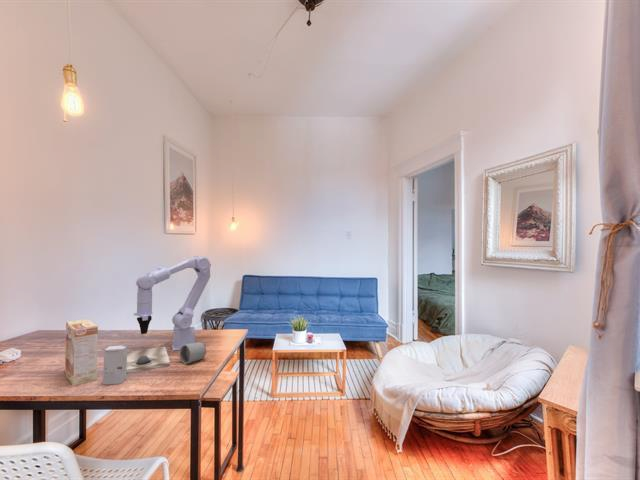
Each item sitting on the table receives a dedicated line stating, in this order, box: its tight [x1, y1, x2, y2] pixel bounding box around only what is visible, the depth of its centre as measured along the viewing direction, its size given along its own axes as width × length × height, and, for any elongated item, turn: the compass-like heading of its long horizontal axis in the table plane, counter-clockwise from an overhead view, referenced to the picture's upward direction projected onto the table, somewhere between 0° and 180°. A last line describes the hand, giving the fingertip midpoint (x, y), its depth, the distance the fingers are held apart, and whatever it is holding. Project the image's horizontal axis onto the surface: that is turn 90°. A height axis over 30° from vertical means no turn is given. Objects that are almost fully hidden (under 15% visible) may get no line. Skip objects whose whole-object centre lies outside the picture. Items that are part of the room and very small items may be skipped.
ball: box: [137, 356, 149, 365], centre depth 121 cm, size 4×4×4 cm
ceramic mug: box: [179, 341, 207, 365], centre depth 128 cm, size 11×8×8 cm
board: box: [126, 346, 171, 375], centre depth 126 cm, size 18×22×2 cm
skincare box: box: [102, 345, 129, 386], centre depth 107 cm, size 6×4×12 cm
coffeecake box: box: [64, 318, 99, 387], centre depth 110 cm, size 15×7×20 cm, turn 48°
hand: (143, 333), depth 133 cm, fingers closed
